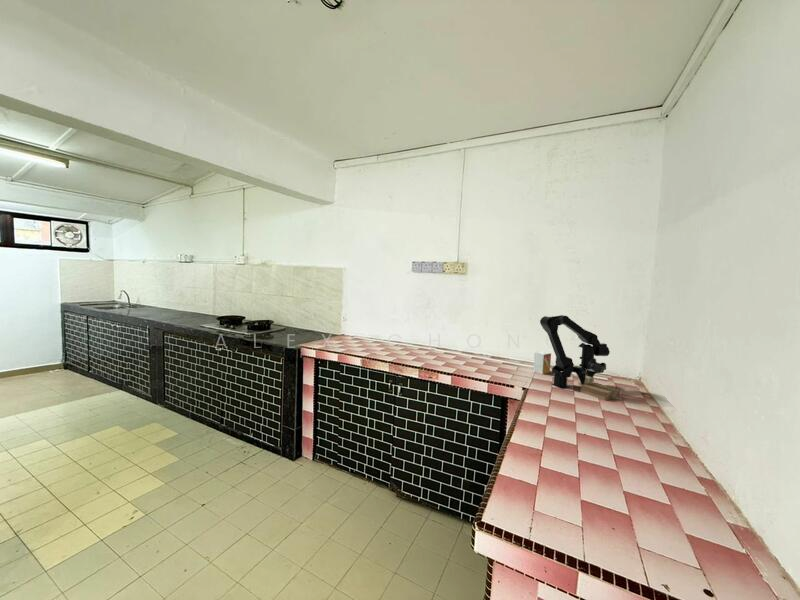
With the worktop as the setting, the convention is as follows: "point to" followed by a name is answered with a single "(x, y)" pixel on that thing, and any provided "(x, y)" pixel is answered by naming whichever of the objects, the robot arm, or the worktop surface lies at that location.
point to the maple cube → (587, 380)
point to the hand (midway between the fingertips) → (585, 384)
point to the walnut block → (600, 391)
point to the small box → (542, 362)
